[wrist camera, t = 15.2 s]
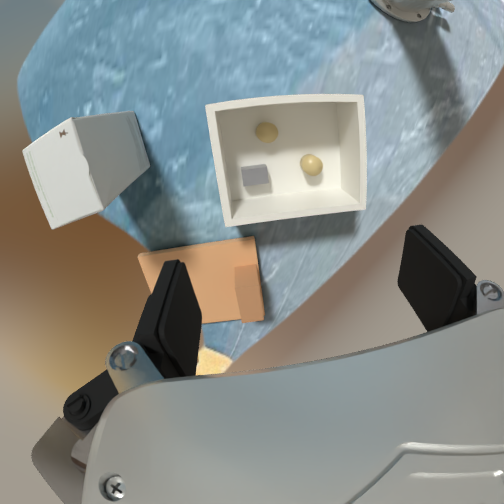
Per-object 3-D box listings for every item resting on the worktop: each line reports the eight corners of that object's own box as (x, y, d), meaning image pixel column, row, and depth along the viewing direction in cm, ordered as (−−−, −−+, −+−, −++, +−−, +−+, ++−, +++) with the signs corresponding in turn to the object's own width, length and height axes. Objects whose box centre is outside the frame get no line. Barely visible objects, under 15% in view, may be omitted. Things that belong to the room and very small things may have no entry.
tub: (339, 96, 29) (363, 95, 23) (344, 191, 35) (365, 209, 29) (210, 106, 29) (205, 105, 23) (226, 205, 35) (225, 227, 29)
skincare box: (94, 127, 28) (18, 147, 15) (137, 108, 28) (72, 111, 14) (112, 183, 32) (48, 233, 19) (154, 168, 32) (103, 211, 18)
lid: (253, 232, 38) (257, 258, 32) (263, 307, 44) (268, 338, 38) (141, 250, 38) (126, 276, 32) (167, 318, 44) (160, 348, 38)
